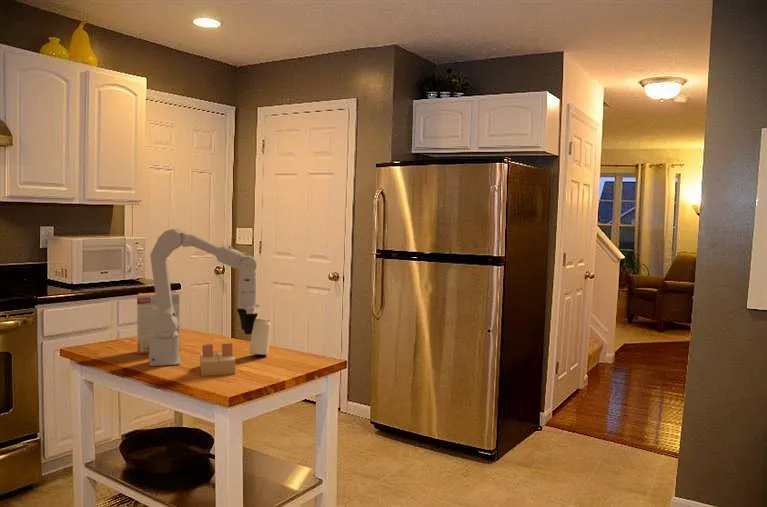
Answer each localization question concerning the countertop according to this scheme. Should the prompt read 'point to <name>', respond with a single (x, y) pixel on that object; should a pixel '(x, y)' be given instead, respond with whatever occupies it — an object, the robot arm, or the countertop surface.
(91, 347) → the countertop surface
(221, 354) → the right flap
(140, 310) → the cracker box
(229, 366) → the carton
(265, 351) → the can
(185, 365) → the countertop surface
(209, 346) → the left flap
